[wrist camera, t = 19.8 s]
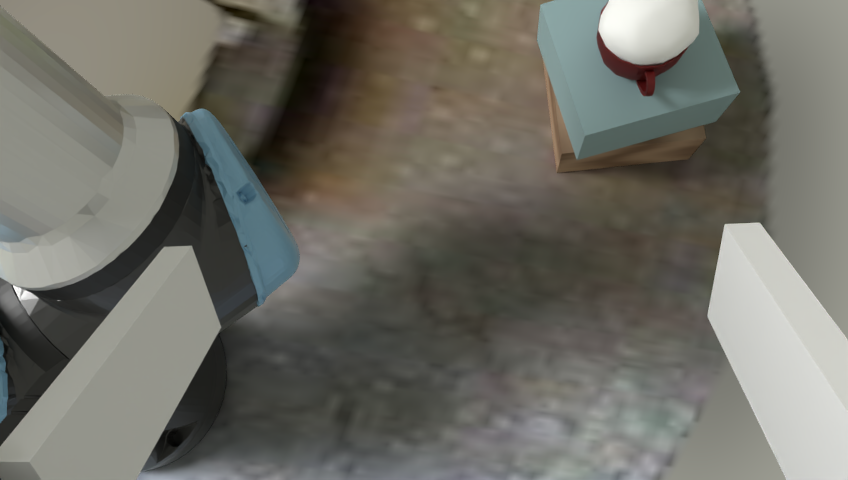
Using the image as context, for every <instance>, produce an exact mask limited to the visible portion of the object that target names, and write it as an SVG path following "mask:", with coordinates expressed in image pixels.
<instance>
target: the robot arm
mask: <svg viewBox="0 0 848 480" xmlns="http://www.w3.org/2000/svg"><path fill="white" fill-rule="evenodd" d="M299 259H300V254H299V249H298V246H297V243H296V241H295V239H294V238H293V236H292V234H291V232H290V230H289V228H288V227H287V225H286V223H285V222H284V220H283V218H282V216H281V215H280V213H279V212H278V210H277V208H276V207H275V205H274V203H273V202H272V200H271V199H270V197H269V195H268V194H267V192H266V191H265V189H264V187H263V186H262V184H261V183H260V181H259V180H258V178H257V177H256V175H255V173H254V172H253V170H252V169H251V167H250V166H249V164H248V163H247V161H246V160H245V158H244V157H243V155H242V154H241V152H240V151H239V149H238V148H237V146H236V145H235V144H234V142H233V141H232V139H231V138H230V136H229V135H228V133H227V132H226V131H225V129H224V128H223V127H222V125H221V124H220V122H219V121H218V120H217V119H216V118H215V117H214V116H213V115H212V114H211V113H210V112H209V111H208V110H205V109H198V110H195V111H194V112H192V113H190V112H187V113H184V114H183V116H182V117H180V121H179V122H177V121H176V120H175V119H174V118H173V117H172V116H171V115H170V114H169V113H168V112H166V111H165V110H164V109H163V108H162V107H161V106H159V105H158V104H157V103H156V102H154V101H153V100H151V99H148V98H146V97H142V96H138V95H129V94H121V95H111V96H104V95H103V94H102V93H100V92H99V91H98V90H97V89H96V88H95V87H94V86H92V85H91V84H90V83H89V82H88V81H87V80H85V79H84V78H83V77H82V76H81V75H80V74H78V73H77V72H76V71H75V70H74V69H73V68H71V67H70V66H69V65H68V64H67V63H66V62H65V61H64V60H62V59H61V58H60V57H59V56H58V55H57V54H55V53H54V52H53V51H52V50H51V49H50V48H48V47H47V46H46V45H45V44H44V43H43V42H42V41H40V40H39V39H38V38H37V37H36V36H35V35H33V34H32V33H31V32H30V31H29V30H28V29H27V28H25V27H24V26H23V25H22V24H21V23H20V22H19V21H17V20H16V19H15V18H14V17H13V16H12V15H10V14H9V13H8V12H7V11H6V10H5V9H4V8H2V7H1V6H0V480H136V479H137V477H138V475H139V474H140V472H143V471H147V470H151V469H155V468H159V467H162V466H164V465H167V464H169V463H171V462H173V461H175V460H177V459H179V458H180V457H182V456H183V455H185V454H186V453H187V452H189V451H190V450H191V449H192V448H193V447H194V446H196V445H197V443H198V442H199V441H200V440H201V439H202V438H203V437H204V436H205V434H206V433H207V431H208V430H209V429H210V427H211V425H212V424H213V422H214V420H215V418H216V416H217V414H218V412H219V409H220V406H221V403H222V400H223V396H224V392H225V386H226V359H225V354H224V350H223V346H222V343H221V340H220V338H219V336H218V334H219V333H220V332H222V331H223V330H224V329H226V328H227V327H229V326H230V325H231V324H233V323H234V322H236V321H237V320H238V319H240V318H241V317H243V316H244V315H246V314H247V313H248V312H250V311H251V310H253V309H254V308H255V307H257V306H260V305H262V304H263V303H264V302H265V299H266V297H267V296H269V295H270V294H271V293H272V292H273V291H275V290H276V289H277V288H278V287H279V286H281V285H282V284H283V283H284V282H285V281H287V280H288V279H289V278H290V277H291V276H292V275H293V274H294V273H295V271H296V270H297V267H298V265H299ZM707 317H708V319H709V321H710V323H711V325H712V327H713V329H714V331H715V333H716V335H717V338H718V340H719V342H720V344H721V346H722V348H723V350H724V352H725V354H726V356H727V358H728V360H729V362H730V364H731V366H732V368H733V370H734V372H735V375H736V377H737V378H738V381H739V383H740V385H741V387H742V389H743V391H744V393H745V395H746V397H747V399H748V401H749V403H750V405H751V408H752V410H753V412H754V414H755V416H756V418H757V420H758V422H759V424H760V426H761V428H762V430H763V432H764V434H765V436H766V438H767V441H768V442H769V445H770V446H771V449H772V451H773V453H774V455H775V457H776V459H777V461H778V463H779V465H780V467H781V469H782V471H783V473H784V476H785V478H786V480H848V339H847V338H846V337H845V335H844V334H843V333H842V331H841V330H840V329H839V327H838V326H837V325H836V323H835V322H834V321H833V319H832V318H831V317H830V315H829V314H828V313H827V311H826V310H825V309H824V307H823V306H822V305H821V303H820V302H819V301H818V299H817V298H816V297H815V295H814V294H813V293H812V291H811V290H810V289H809V287H808V286H807V285H806V283H805V282H804V281H803V279H802V278H801V277H800V275H799V274H798V273H797V271H796V270H795V269H794V267H793V266H792V265H791V264H790V262H789V261H788V259H787V258H786V257H785V256H784V255H783V253H782V252H781V250H780V249H779V248H778V246H777V245H776V244H775V242H774V241H773V240H772V238H771V237H770V236H769V234H768V233H767V232H766V230H765V229H764V228H763V226H762V225H761V224H760V223H739V224H725V226H724V231H723V236H722V241H721V247H720V252H719V257H718V262H717V268H716V273H715V278H714V283H713V289H712V294H711V299H710V304H709V309H708V315H707Z"/></svg>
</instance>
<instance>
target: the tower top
mask: <svg viewBox="0 0 848 480" xmlns="http://www.w3.org/2000/svg"><path fill="white" fill-rule="evenodd" d="M608 1H609V0H554V1H551V2H548V3H544V4H541V5H540V15H539V26H538V36H537V42H538V45H539V48H540V51H541V54H542V57H543V60H544V63H545V66H546V69H547V72H548V75H549V78H550V81H551V84H552V87H553V90H554V93H555V96H556V99H557V102H558V105H559V108H560V111H561V114H562V117H563V120H564V123H565V126H566V129H567V132H568V135H569V138H570V141H571V144H572V147H573V150H574V153H575V156H576V159H577V160H579V159H583V158H587V157H590V156H594V155H597V154H601V153H605V152H608V151H612V150H615V149H619V148H623V147H626V146H630V145H633V144H637V143H641V142H644V141H648V140H651V139H655V138H659V137H662V136H666V135H669V134H673V133H677V132H680V131H684V130H687V129H691V128H695V127H698V126H702V125H705V124H709V123H713V122H716V121H717V120H718V118H719V117H720V116H721V115H722V114H723V112H724V111H725V110H726V109H727V108H728V106H729V105H730V104H731V103H732V101H733V100H734V99H735V98H736V97H737V95H738V94H739V93H740V91H739V88H738V86H737V83H736V81H735V79H734V76H733V74H732V71H731V69H730V67H729V64H728V62H727V59H726V57H725V55H724V52H723V50H722V47H721V45H720V43H719V40H718V38H717V36H716V33H715V31H714V28H713V26H712V24H711V21H710V19H709V16H708V14H707V12H706V9H705V7H704V4H703V2H702V0H698V9H699V34H698V36H697V37H696V39H695V40H694V42H693V43H691V44H690V46H689V47H688V48H687V50H686V51H685V53H684V54H683V55H682V57H681V58H680V59H679V61H678V62H677V63H676V64H675V65H674V66H673V67H672V68H670V69H669V70H667V71H666V72H664V73H662V74H660V75H658V76H656V77H655V90H654V93H653V95H652V96H648V97H647V96H643V95H642V94H641V92H640V90H639V88H638V86H637V83H636V80H634V81H633V80H630V79H627V78H624V77H621V76H618V75H616V74H615V73H613V72H612V71H611V70H610V69H609V68H608V67H607V66H606V65H605V64H604V62H603V60H602V57H601V54H600V51H599V48H598V45H597V38H596V37H597V31H598V25H599V19H600V13H601V10H602V9H603V7H604V6H605V5H606V3H607V2H608Z"/></svg>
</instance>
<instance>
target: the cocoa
mask: <svg viewBox="0 0 848 480" xmlns="http://www.w3.org/2000/svg"><path fill="white" fill-rule="evenodd" d="M698 34H699V9H698V0H609V1H608V2H607V3H606V5H605V6H604V7H603V9H602V10H601V13H600V19H599V25H598V31H597V37H596V38H597V45H598V48H599V51H600V54H601V57H602V60H603V62H604V64H605V65H606V66H607V67H608V68H609V69H610V70H611V71H612V72H613V73H615V74H616V75H618V76H621V77H624V78H627V79H630V80H633V81H634V80H636V83H637V86H638V88H639V90H640V92H641V94H642V95H643V96H647V97H648V96H652V95H653V93H654V90H655V77H656V76H658V75H660V74H662V73H664V72H666V71H667V70H669V69H670V68H672V67H673V66H674V65H675V64H676V63H677V62H678V61H679V59H680V58H681V57H682V55H683V54H684V53H685V51H686V50H687V48H688V47H689V46H690V44H691V43H693V42H694V40H695V39H696V37H697V36H698Z"/></svg>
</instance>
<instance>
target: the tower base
mask: <svg viewBox="0 0 848 480" xmlns="http://www.w3.org/2000/svg"><path fill="white" fill-rule="evenodd" d="M543 63H544V60H543ZM544 71H545V80H546V88H547V96H548V104H549V112H550V121H551V129H552V137H553V145H554V154H555V162H556V170H557V173H560V172H569V171H579V170H589V169H598V168H608V167H618V166H627V165H637V164H647V163H656V162H666V161H676V160H685V159H689V158H690V157H691V156H692V154H693V153H694V152H695V151H696V150H697V149H698V147H699V146H700V145H701V144H702V143H703V141H704V140H705V139H706V134H705V129H704V125H702V126H698V127H695V128H691V129H687V130H684V131H680V132H677V133H673V134H669V135H666V136H662V137H659V138H655V139H651V140H648V141H644V142H641V143H637V144H633V145H630V146H626V147H623V148H619V149H615V150H612V151H608V152H605V153H601V154H597V155H594V156H590V157H587V158H583V159H579V160H577V159H576V156H575V153H574V150H573V147H572V144H571V141H570V138H569V135H568V132H567V129H566V126H565V123H564V120H563V117H562V114H561V111H560V108H559V105H558V102H557V99H556V96H555V93H554V90H553V87H552V84H551V81H550V78H549V75H548V72H547V69H546V66H545V63H544Z"/></svg>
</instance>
